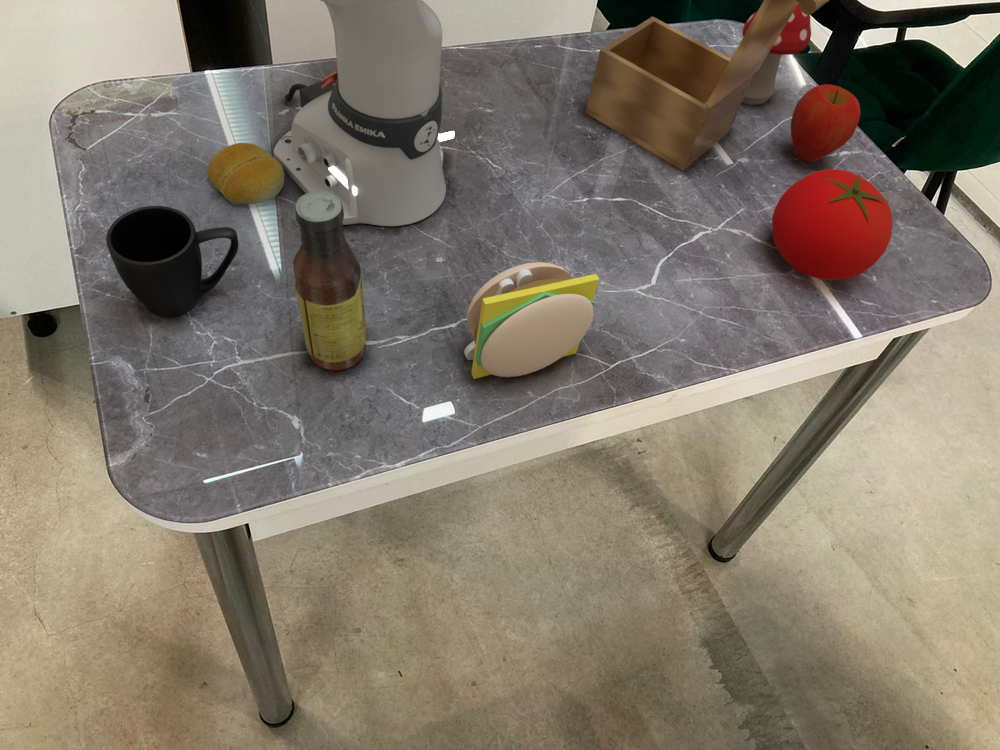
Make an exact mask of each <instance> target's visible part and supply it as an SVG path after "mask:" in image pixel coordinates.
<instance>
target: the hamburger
mask: <svg viewBox="0 0 1000 750" xmlns="http://www.w3.org/2000/svg"><path fill="white" fill-rule="evenodd" d="M599 282H600V278H599V276H598V274H597V273H593V274H590V275H585V276H580V277H575V278H573V276H572V275H571V273H570V272H569V271H568V270H566V269H565V268H564V267H562V266H560V265H557V264H555V263H552V262H546V261H545V262H544V261H534V262H526V263H522V264H518V265H514V266H512V267H510V268H508V269H505V270H503V271H501V272H500V273H498V274H497V275H495V276H493V277H491V278H490V279H489V280H488V281H487V282H485V283H484V284H483V285H482V286H481V287H480V289H479V290H477V292H476V293H475V294H474V296H473V297H472V300H471V301H470V303H469V306H468V309H467V313H466V324H467V328H468V331H469V333H470V334H471V335H472V336H473V337H474V339H473V341H472V342H470V343H468V345H467V346H466V347H465V349H464V351H463V354H464V356H465V358H466V360H467V361H472V366H471V373H470V374H471V376H472V378H473V380H475V379H479V378H484V377H486V376H487V377H488V376H491V375H492V376H495V377H500V378H513V377H514V378H515V377H520V376H526V375H529V374H531V373H534V372H537V371H540V370H542V369H545V368H546V367H548V366H550V365H552V364H553V363H556V362H557V361H558V360H560V359H561V358H564V357H567V356H571V355H575V354H577V352H578V349H579V345H580V342H582V341H583V340H584V338H585V335H586V334H587V332H588V330H589V329H590V327H591V325H592V322H593V320H594V311H595V310H594V307H595V304H596V302H595V300H594V298H595V295H596V291H597V289H598V285H599Z"/></svg>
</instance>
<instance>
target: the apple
mask: <svg viewBox="0 0 1000 750" xmlns="http://www.w3.org/2000/svg"><path fill="white" fill-rule="evenodd" d="M860 118H861V106H860V101H859V99H857V97H856V96H855V95H854V94H853V93H851V92H850V91H849V90H847V89H845V88H843V87H841V86H839V85H834V84H827V83H825V84H820V85H816V86H813V87H812V88H810V89H809V90H808V91H806V92H805V93H804V94H803V95H802V97H801V98H800V99H799V100H798V101H797V102H796V104H795V107H794V110H793V114H792V115H791V120H790V136H791V142H792V147H793V150H794V153H795V155H796V158H797V159H799V160H800V161H802V162H805V163H812V162H815V161H817V160H821V159H822V158H825V157H827V156H829V155H830V154H832V153H834V152H836V151H837V150H838V149H840V148H842V147H843V146H844V145H846V143H847V142H848V141H849V140H850V139H851V138H852V137H853V136H854V133H855V131H856V129H857V127H858V125H859V122H860Z"/></svg>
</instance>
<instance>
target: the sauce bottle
mask: <svg viewBox="0 0 1000 750" xmlns="http://www.w3.org/2000/svg"><path fill="white" fill-rule="evenodd" d="M294 210H295V219H296V223H298V225H299V229H300V243H301V245H300V247H299V249H298V250H297V252H296V253H295V254H294V257H293V260H292V265H293V267H292V268H293V274H294V280H295V284H294V287H295V293H296V298H297V303H298V309H299V310H298V311H299V316H300V321H301V326H302V332H303V337H304V344H305V347H306V350H307V352H308V355H309V357H310V359H311V361H312V362H313V363H314V364H315V365H316V366H318V367H319V368H322V369H324V370H331V371H334V372H335V371H343V370H347V369H349V368H352V367H354V366H355V365H356V364H358V363H359V362H360V361H361V359H362V358H363V356H364V353H365V350H366V342H367V331H366V319H365V307H364V292H363V291H364V290H363V282H362V281H363V279H362V270H361V265H360V262H359V260H358V259H357V257H356V255H355V253H354V251H353V249H352V248H351V246H350V244H349V242H348V240H347V239H346V236H345V233H344V225H343V223H342V222H343V218H344V211H343V205H342V203H341V201H340V199H339V198H338V197H337V196H336V195H334V194H332V193H329V192H324V191H317V192H309V193H307V194H305V193H304V194H303V195H301V196H300V197H298V199H297V201H296V203H295V205H294Z"/></svg>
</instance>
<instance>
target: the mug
mask: <svg viewBox="0 0 1000 750" xmlns="http://www.w3.org/2000/svg"><path fill="white" fill-rule="evenodd" d="M238 237H239V236H238V233H237V230H236V229H234V228H232V227H230V226H220V227H219V226H218V227H212V228H207V229H202V230H199V231H196V227H195V224H194V222H193V221H192V219H191V218H190V217H189V216H188V215H187V214H186V213H185V212H182V211H181V210H180V209H176V208H173V207H171V206H165V205H148V206H147V205H146V206H141V207H138V208H134V209H131V210H129V211H127V212H125V213H123V214H122V215H120V216H119V217H117V218H116V219H115V220H114V221H113V222H112V223H111V225H110V226H109V228H108V230H107V233H106V238H105V239H106V240H105V241H106V247H107V250H108V252H109V255H110V258H111V260H112V263H113V265H114V267H115V269H116V271H117V273H118V275H119V277H120V278H121V280H122V282H123V283H124V284H125V286H126V288H127V289H128V290H129V291H130V292H131V294H132V295H133V296H134V297H135V298H136V299H137V300H138V301H139V302H140V303H141V304H142V305H143V307H145V309H146V310H147V311H148V312H149V313H151V314H152V315H154V316H157V317H159V318H167V319H168V318H169V319H171V318H177V317H181V316H183V315H185V314H187V313H189V312H191V311H192V310H193V309H194V308H195V306H196V305H197V303H198V301H199V297H200V294H205V293H208V292H210V291H211V290H213V289H214V288H215V287H216V286H217V285H218V284H219V282H220V281H221V279H222V278H223V276H225V273H226V272H227V270H228V269H229V267H230V266H231V265H232V263H233V260H234V259H235V257H236V256H237V254H238V251H239V238H238ZM218 239H228V240H230V245H229V248H228V251H227V253H226V255H225V256H224V259H223V260H222V262H221V263H220V265H219V266H218V267H217V268H216V270H215V271H214V272H213V273H212V274H211V275H209V276H207V277H205V278H202V274H203V273H202V272H203V260H202V251H201V246H200V244H202V243H206V242H209V241H212V240H218Z"/></svg>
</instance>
